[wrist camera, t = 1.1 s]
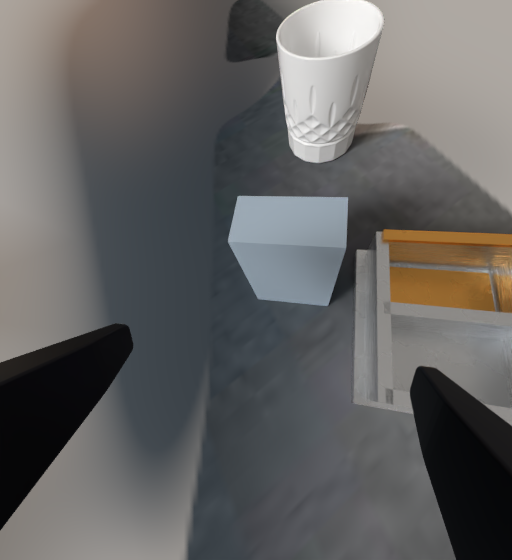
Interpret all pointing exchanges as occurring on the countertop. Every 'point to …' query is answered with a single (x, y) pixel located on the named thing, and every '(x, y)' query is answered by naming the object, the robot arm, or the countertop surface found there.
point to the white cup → (326, 73)
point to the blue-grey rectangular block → (290, 245)
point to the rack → (433, 316)
